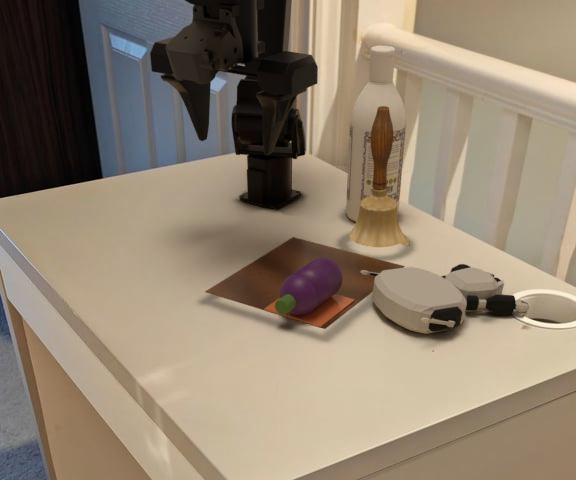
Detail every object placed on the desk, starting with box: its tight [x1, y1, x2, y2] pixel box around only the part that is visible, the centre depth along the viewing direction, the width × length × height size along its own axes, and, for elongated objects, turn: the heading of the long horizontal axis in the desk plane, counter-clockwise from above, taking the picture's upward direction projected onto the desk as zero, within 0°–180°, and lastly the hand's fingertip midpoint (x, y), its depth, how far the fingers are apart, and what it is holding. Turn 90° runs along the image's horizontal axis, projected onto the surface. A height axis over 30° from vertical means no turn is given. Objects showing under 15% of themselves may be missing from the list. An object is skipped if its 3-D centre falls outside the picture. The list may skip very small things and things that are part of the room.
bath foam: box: [345, 45, 407, 223], centre depth 104 cm, size 7×7×20 cm
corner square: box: [264, 294, 355, 328], centre depth 88 cm, size 7×7×1 cm
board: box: [204, 236, 405, 330], centre depth 94 cm, size 18×16×1 cm
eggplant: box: [275, 258, 343, 316], centre depth 86 cm, size 10×4×4 cm, turn 147°
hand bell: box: [348, 106, 410, 248], centre depth 98 cm, size 8×8×16 cm
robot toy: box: [360, 263, 530, 335], centre depth 88 cm, size 12×4×15 cm
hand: (235, 146), depth 95 cm, fingers open, 9 cm apart
